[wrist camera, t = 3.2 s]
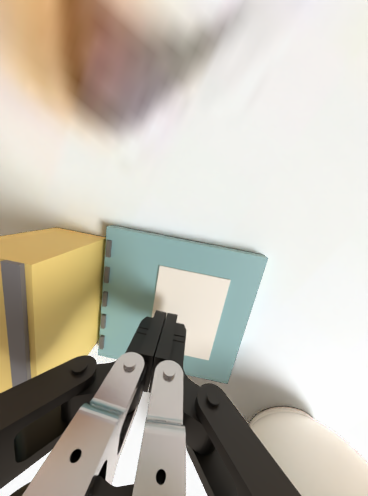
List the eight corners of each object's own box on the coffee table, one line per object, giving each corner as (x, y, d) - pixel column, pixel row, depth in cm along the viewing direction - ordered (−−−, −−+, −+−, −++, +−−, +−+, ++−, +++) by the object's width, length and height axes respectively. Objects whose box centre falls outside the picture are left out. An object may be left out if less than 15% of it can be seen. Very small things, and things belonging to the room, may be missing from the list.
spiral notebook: (112, 225, 12) (105, 226, 12) (263, 254, 12) (269, 259, 11) (103, 347, 15) (96, 357, 14) (226, 374, 15) (227, 386, 14)
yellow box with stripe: (55, 227, 13) (-69, 247, 7) (107, 237, 13) (26, 266, 7) (56, 327, 15) (-36, 407, 9) (100, 337, 15) (35, 425, 9)
